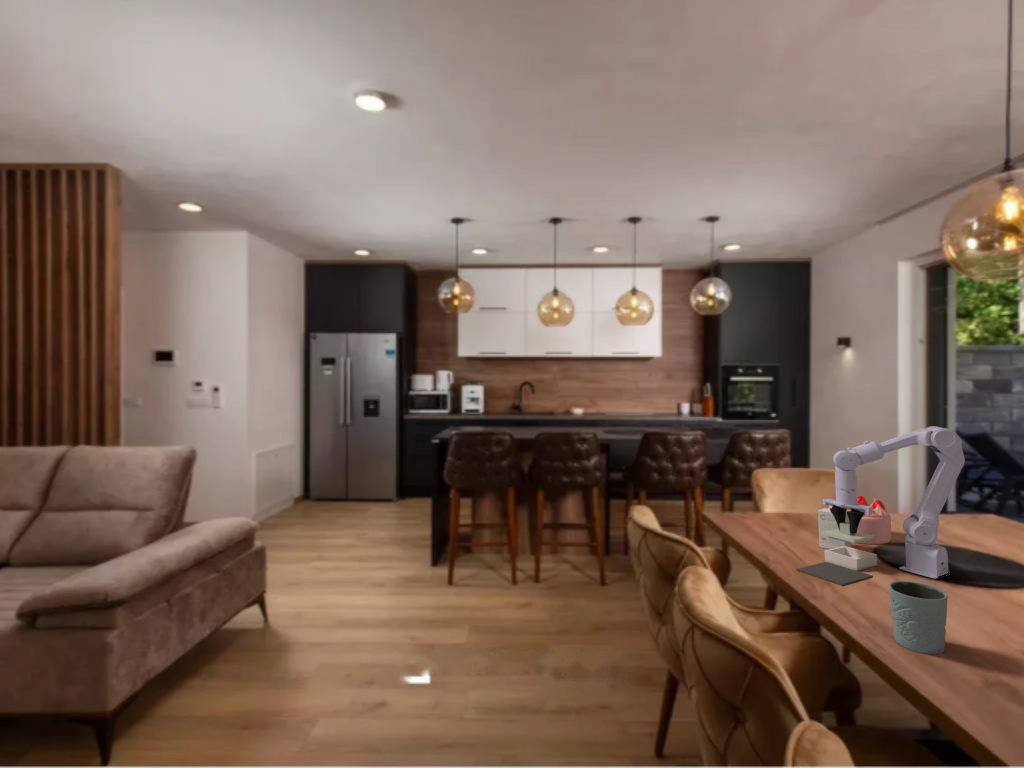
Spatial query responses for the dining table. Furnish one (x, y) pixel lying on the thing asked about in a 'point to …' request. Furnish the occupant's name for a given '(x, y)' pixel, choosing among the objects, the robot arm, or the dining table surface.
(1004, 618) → the dining table surface
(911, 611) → the green embossed pot
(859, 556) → the shallow white tray
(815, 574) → the mat
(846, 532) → the lid
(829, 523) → the small box
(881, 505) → the cake
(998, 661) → the dining table surface
